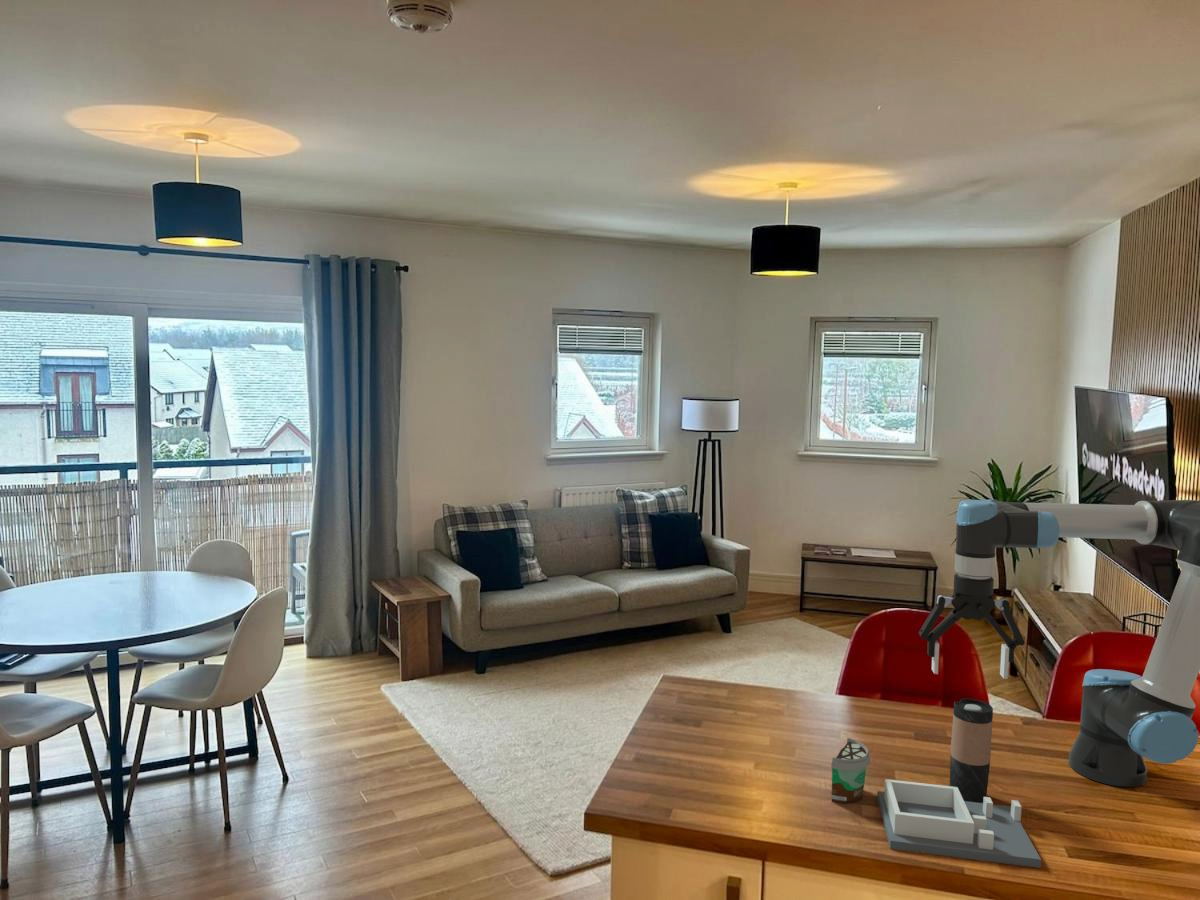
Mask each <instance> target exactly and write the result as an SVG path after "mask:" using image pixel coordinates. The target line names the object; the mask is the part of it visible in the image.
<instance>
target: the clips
mask: <svg viewBox="0 0 1200 900" xmlns="http://www.w3.org/2000/svg"><path fill="white" fill-rule="evenodd" d="M993 804H994V803H993V801H992V798H991V797H990V796H989V797H988V796H986V797H984V798H983V813H984V815H985V816H978V815H972V820H973V822H974V833H977V834H978V847H979V848H982V849H990V850H993V843H994V833H993V831H990V830H986V824H987V819H986V817H988V818H992V813H993ZM1010 804H1011V805H1010V806H1011V816H1012V818H1013V820H1014V821H1020V822H1022V821H1021V818H1022V807H1023V806H1022V805H1021V803H1020V802H1019V800H1018V799H1017V800H1014V799H1011V803H1010Z"/></svg>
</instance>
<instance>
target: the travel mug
mask: <svg viewBox="0 0 1200 900" xmlns="http://www.w3.org/2000/svg"><path fill="white" fill-rule="evenodd" d="M993 714H994V708H993V706H992V705H991V704H989V703H988V702H985V701H983V700H979V699H975V698H974V699H973V698H961V699H960V700H959V701H954V703H953V713H952V728H951V742H950V759H949V760H950V761H949V762H950V763H949V786H952V787H958V789H959V791H960V794H961V796H962V798H963V800H964V801H968V802H976V803H983V798H984V797H988V796H987V795H988V787H989V776H990V766H991V753H992V751H991V750H992V734H993Z"/></svg>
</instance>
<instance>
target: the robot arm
mask: <svg viewBox="0 0 1200 900" xmlns="http://www.w3.org/2000/svg"><path fill="white" fill-rule="evenodd" d="M956 512H957V513H956V519H955V522H956V527H955V528H956V531H955V535H956V536H955V557H954V558H955V559H954V571H955V574H954V575H953V576H954V577H953V592H952V595H951V597H949V596H944V595H942V594H937V596H936V598H935V604H934V606H933V608H932V609H931V611H930V613H929V615H927V617H926V619H925V621H924V623H923V624H922V626H921V628H920V629H919V631H918V635H919V637H920V638H921V639H922V640H925V641H927V648H926V649H927V650H926V651H927V652H926V653H927V655H928V657H930V658H931V671H932V672H933V674H934V675H939V659H940V643H939V641H938V640H939V639H940V638H941V637H942V636H943V635H944V634H945V633H946V632H947V631H948V630H949V629H950V628H951V627H952V626H953V625H954V624H955V623H956V622H958V621H960V620H961V618H962V619H964V620H968V621H969V620H976V621H982V620H984V619H986V621H987V622H988V623H989V624H990V625H991V627H992V628H993V629H994V631H996V632H997V635H999V636H1000V638H1002V640H1003V642H1004V643H1001V646H1000V647H1001V649H1000V667H999V675H1000V676H1001V677H1002V679H1003V680H1008V679H1009V678H1008V676H1009V663H1013V662H1014V660H1015V659H1014V658H1015V656H1014V655H1015V649H1017V646H1024V645H1025V639H1024V637H1023V635H1022V633H1021V631H1020V629H1019V627H1018V625H1017V623H1016V620H1015V619H1014V617H1013V614H1012V613H1011V606H1010V602H1009V601H1008V599H1006V597H1001V598H1000V599H994V582H995V580H994V578H993V576H994V575H995V560H996V548H1019V549H1020V548H1021V549H1023V548H1024V549H1036V550H1038V549H1044V548H1045V549H1046V548H1053V547H1054V546H1055V545H1056V544H1057V542H1058V541H1059V538H1067V539H1068V538H1073V539H1075V538H1076V539H1101V540H1102V539H1103V540H1104V539H1105V540H1106V539H1108V540H1109V539H1110V540H1111V539H1113V540H1135V542H1137V543H1139V544H1140V545H1153V546H1160V547H1162V548H1163V547H1165V548H1167V549H1171V550H1174V551H1175V550H1176V551H1178V554H1177V555H1176V559H1175V561H1176V562H1177V564H1178V567H1179V568H1180V573H1179V574H1180V575H1179V576H1178V579H1177V583H1176V585H1175V587H1174V590H1173V592H1172V595H1171V598H1170V601H1169V604H1168V607H1167V608H1166V612H1165V614H1164V617H1163V620H1162V623H1161V625H1160V627H1159V631H1158V633H1157V636H1156V639H1155V642H1154V644H1153V646H1152V649H1151V652H1150V655H1149V658H1148V661H1147V662H1146V665H1145V669H1144V672H1143V674H1142V676H1141V675H1139V674H1136V673H1132V672H1128V671H1125V670H1115V669H1105V668H1103V669H1102V668H1098V669H1097V668H1096V669H1090V670H1088V671H1086V672H1085V674H1084V677H1083V682H1082V684H1081V685H1082V696H1081V708H1080V709H1081V710H1080V722H1079V724H1080V726H1079V732H1078V735H1077V737H1076V738H1075V741H1074V743H1073V744H1072V746H1071V749H1070V751H1069V754H1068V765H1069V767H1070V768H1071V769H1072V770H1073V771H1074V772H1076V773H1077V774H1080V776H1083V777H1085V778H1087V779H1090V780H1092V781H1095V782H1097V783H1102V784H1105V785H1109V786H1115V787H1121V788H1124V787H1125V788H1135V787H1140V786H1143V785H1145V784H1146V783H1147V779H1148V778H1147V775H1148V769H1147V766H1146V762H1145V759H1146V760H1149V761H1150V762H1153V763H1157V764H1161V765H1162V764H1164V765H1165V764H1173V763H1176V762H1177V761H1182V760H1185V758H1187V757H1188V756H1189V755H1191V754H1192V753H1193V752H1194V750H1195V749H1196V747H1197V744H1198V742H1199V736H1200V735H1199V731H1198V729H1197V725H1196V724H1195V722H1194V721H1193V720H1192V718H1193V715H1194V712H1195V710H1196V703H1195V701H1194V700H1193V698H1192V696H1191V694H1192V691H1193V689H1194V686H1195V683H1196V680H1197V678H1198V675H1199V673H1200V500H1196V499H1172V500H1171V499H1170V500H1169V499H1168V500H1167V499H1165V500H1139V501H1137V502H1135V504H1106V503H1105V504H1099V503H1059V502H1057V503H1055V502H1013V501H1010V502H1009V501H1001V500H999V499H992V498H991V499H986V500H984V499H982V500H981V499H966V500H962V501H960V503H959V504H958V506H957V511H956ZM950 604H951V605H952V607H953V609H951V610H950V611H949V613H948V614H947V616H946V617H945V618H944V619H942V621H940V623H939V624H938V625H936V623H937V621H938V620H939V618H940V617H941V615H942V613H943V611H944V608H947V607H948V605H950ZM995 606H996V608H997V609H998V610H999V611H1001V613H1002V615H1003V618H1004V619H1005V622H1006V624H1007V626H1008V629H1009V631H1010V632H1011V634H1012V637H1013V638H1011V637H1010V636H1009V635H1008V634H1007V632H1006V631H1005V630H1004V629H1003V628H1002V627H1001V625H1000V624H999V623H998V622H997V621H996V619H995V618H994V617H993V615H992V614H991V613H990V612H991V611H992V610H993V609H994V608H995ZM935 625H936V626H935Z"/></svg>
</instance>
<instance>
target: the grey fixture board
mask: <svg viewBox="0 0 1200 900" xmlns="http://www.w3.org/2000/svg"><path fill="white" fill-rule="evenodd" d="M876 792H877V794H876V795H877V796H876V797H877V798H876V799H877V804H878V806H879V807H878V808H879V810H880V815H881V819H882V822H883V823H882V824H883V826H884V827H883V828H884V831H885V833H886V838H887V842H888V845H889V849H890V850H897V851H904V850H905V851H906V852H912V851H913V853H919V852H924V853H923V854H927V853H929V855H936V856H937V855H938V856H943V855H944V857H951V856H952V858H957V859H958V858H959V859H968V860H975V861H983V862H989V863H991V862H992V863H997V864H1006V865H1015V866H1021V867H1022V866H1023V867H1029V868H1030V867H1031V868H1036V869H1037V868H1038V869H1041V866H1042V859H1041V857H1040V855H1039V854H1038V851H1037V850H1036V848H1035V846H1034V844H1033V843H1032V840H1031V839H1030V837H1029V836H1028V834H1027V832H1026V830H1025V828H1024V827H1023V825H1022V823H1021V821H1014V820H1013V818H1012V816H1011V805H1010V806H1008V805H1001V804H994V803H993V813H992V818H988V817H986V819H987V824H986V830H990V831H993V833H994V843H993V850H990V849H982V848H979V847H978V834H977V833H974V835H973V844H969V843H961V842H953V841H945V840H937V839H929V838H921V837H913V836H905V835H897V834H894V832H893V828H892V824H891V821H890V817H889V813H888V810H887V806H886V803H885V799H884V791H880V790H877V791H876ZM964 802H965V804H966V807H967V809H968V811H969V813H970V815H971V817H972V815H978V816H985V815H984V813H983V803H976V802H968V801H964ZM897 804H898V807H899V810H900V812H905V813H913V814H921V815H930V816H938V817H946V818H955V819H957V818H956V816H955V813H954V811H953V809H952V808H949V807H940V806H932V805H923V804H915V803H906V802H898V801H897ZM905 851H904V852H905Z"/></svg>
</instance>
